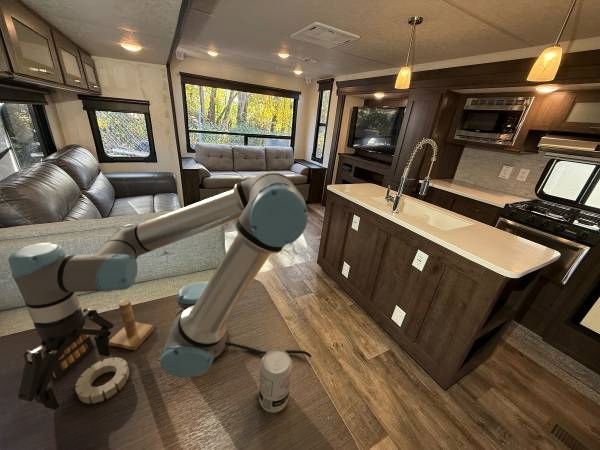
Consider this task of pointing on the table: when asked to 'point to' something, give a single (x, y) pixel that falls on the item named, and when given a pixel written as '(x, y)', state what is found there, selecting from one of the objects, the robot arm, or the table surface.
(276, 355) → the supplement can
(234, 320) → the table surface
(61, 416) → the table surface
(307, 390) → the table surface
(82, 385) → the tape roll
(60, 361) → the ammunition clip
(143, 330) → the post stand
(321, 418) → the table surface
